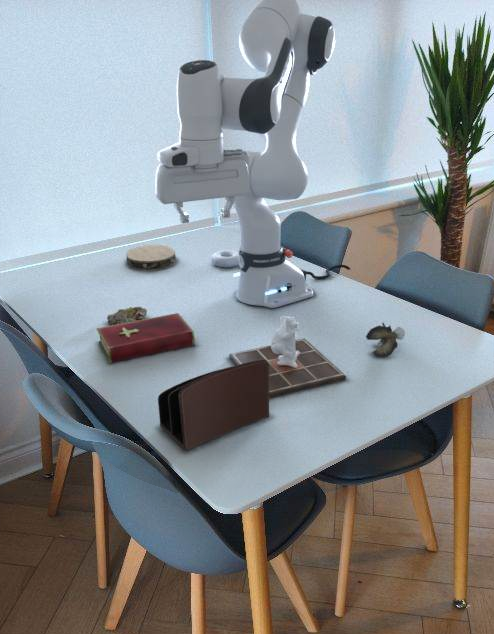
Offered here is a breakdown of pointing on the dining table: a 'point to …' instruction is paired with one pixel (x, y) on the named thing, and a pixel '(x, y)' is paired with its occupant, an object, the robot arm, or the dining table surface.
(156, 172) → the robot arm
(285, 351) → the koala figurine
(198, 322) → the dining table surface
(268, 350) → the board
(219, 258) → the donut
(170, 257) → the tambourine
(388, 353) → the eagle figurine
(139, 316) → the mineral rock
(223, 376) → the letter holder
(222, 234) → the dining table surface
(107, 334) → the hardcover book
